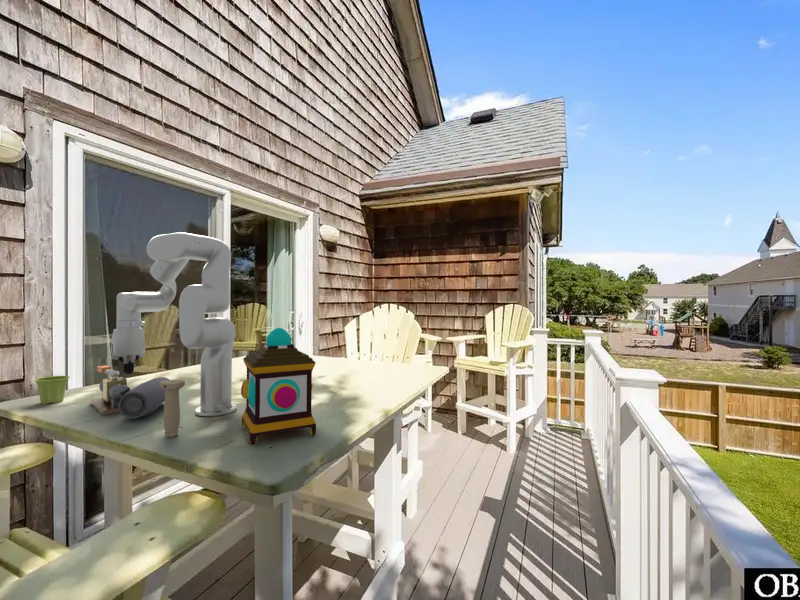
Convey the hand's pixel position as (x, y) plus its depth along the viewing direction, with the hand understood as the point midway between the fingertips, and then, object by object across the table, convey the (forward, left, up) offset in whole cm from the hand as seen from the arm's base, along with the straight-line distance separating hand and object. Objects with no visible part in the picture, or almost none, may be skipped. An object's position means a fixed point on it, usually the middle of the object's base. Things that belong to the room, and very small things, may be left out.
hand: (128, 373), depth 145 cm
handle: (-55, +2, -10) cm, 56 cm away
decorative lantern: (-73, -20, -10) cm, 77 cm away
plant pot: (+14, +20, -10) cm, 26 cm away
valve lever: (-4, +7, +2) cm, 8 cm away
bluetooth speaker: (-25, 0, -10) cm, 27 cm away
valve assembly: (-9, +6, -9) cm, 15 cm away
